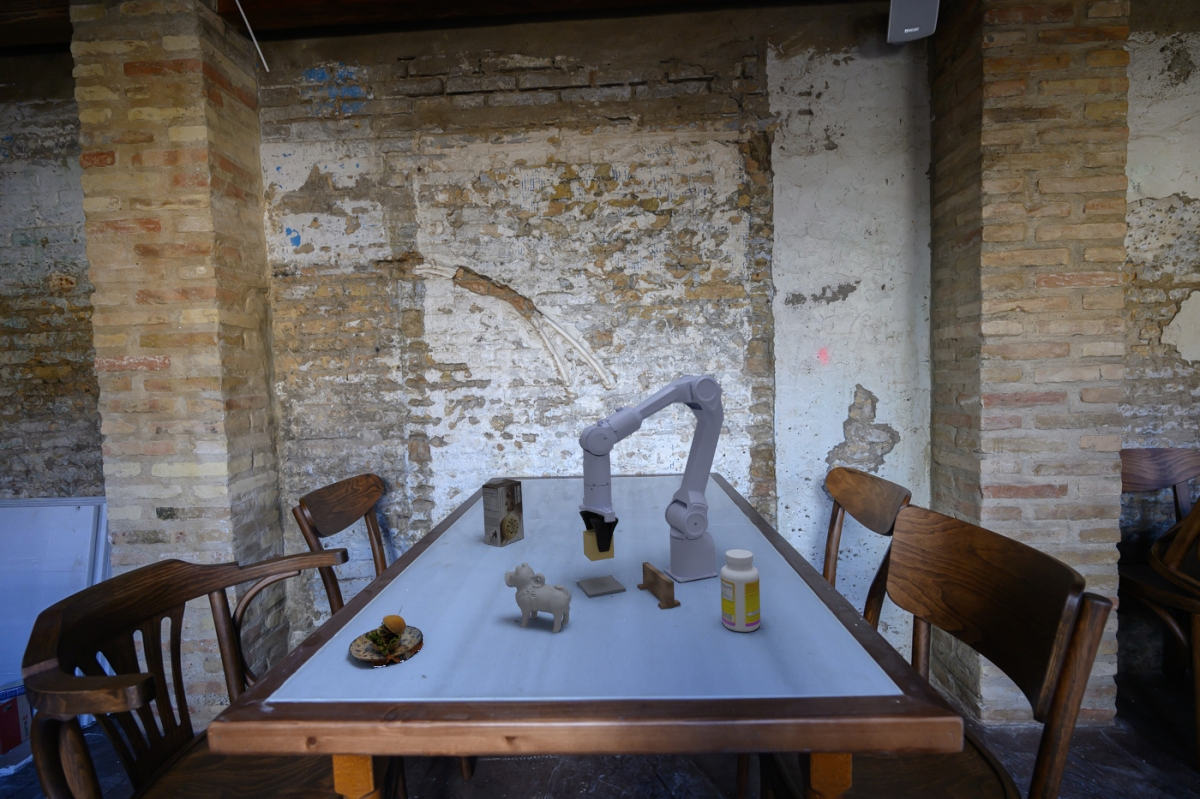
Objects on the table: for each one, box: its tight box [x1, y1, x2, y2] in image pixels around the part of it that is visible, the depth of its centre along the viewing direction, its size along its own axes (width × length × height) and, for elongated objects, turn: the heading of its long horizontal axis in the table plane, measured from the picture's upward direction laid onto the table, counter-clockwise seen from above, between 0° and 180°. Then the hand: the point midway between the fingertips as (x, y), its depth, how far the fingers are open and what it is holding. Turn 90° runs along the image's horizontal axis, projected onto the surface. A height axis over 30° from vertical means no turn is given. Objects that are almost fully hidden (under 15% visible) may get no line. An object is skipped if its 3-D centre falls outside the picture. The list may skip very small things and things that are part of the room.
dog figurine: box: [504, 561, 572, 634], centre depth 102 cm, size 5×13×11 cm, turn 69°
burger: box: [348, 606, 424, 668], centre depth 94 cm, size 12×12×8 cm
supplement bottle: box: [720, 549, 761, 633], centre depth 98 cm, size 7×7×13 cm
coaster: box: [576, 574, 627, 599], centre depth 117 cm, size 8×8×1 cm
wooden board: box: [636, 561, 682, 610], centre depth 112 cm, size 12×4×5 cm, turn 20°
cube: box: [582, 530, 615, 562], centre depth 117 cm, size 5×5×5 cm
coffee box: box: [481, 478, 525, 548], centre depth 151 cm, size 9×6×16 cm
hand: (599, 547), depth 117 cm, fingers closed on cube, 5 cm apart
